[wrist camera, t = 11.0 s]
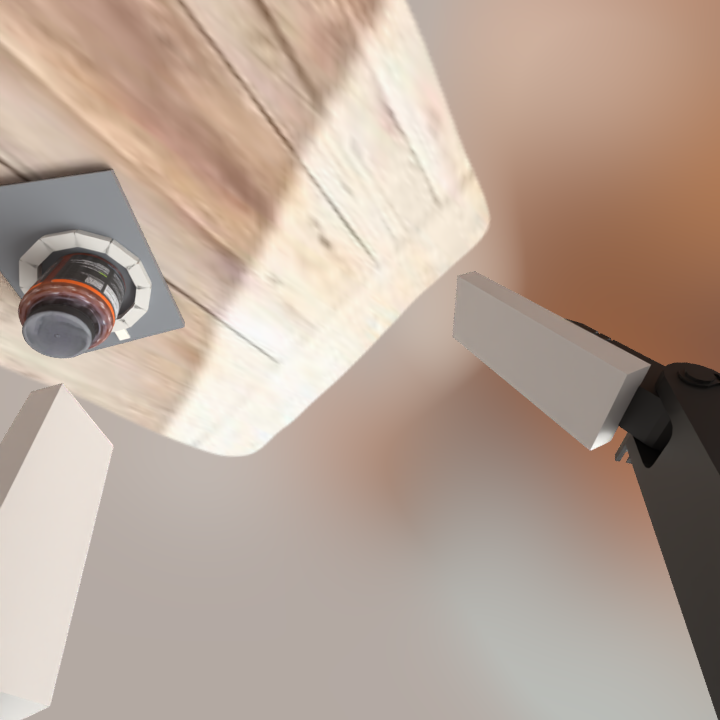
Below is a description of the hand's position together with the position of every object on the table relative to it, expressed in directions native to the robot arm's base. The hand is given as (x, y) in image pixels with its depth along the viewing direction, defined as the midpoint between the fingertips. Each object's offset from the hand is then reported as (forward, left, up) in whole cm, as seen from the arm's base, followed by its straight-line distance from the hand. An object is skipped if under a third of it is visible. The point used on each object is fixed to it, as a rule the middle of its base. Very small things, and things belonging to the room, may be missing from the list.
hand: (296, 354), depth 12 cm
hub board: (+4, -15, -31) cm, 34 cm away
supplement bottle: (+5, -15, -30) cm, 34 cm away
